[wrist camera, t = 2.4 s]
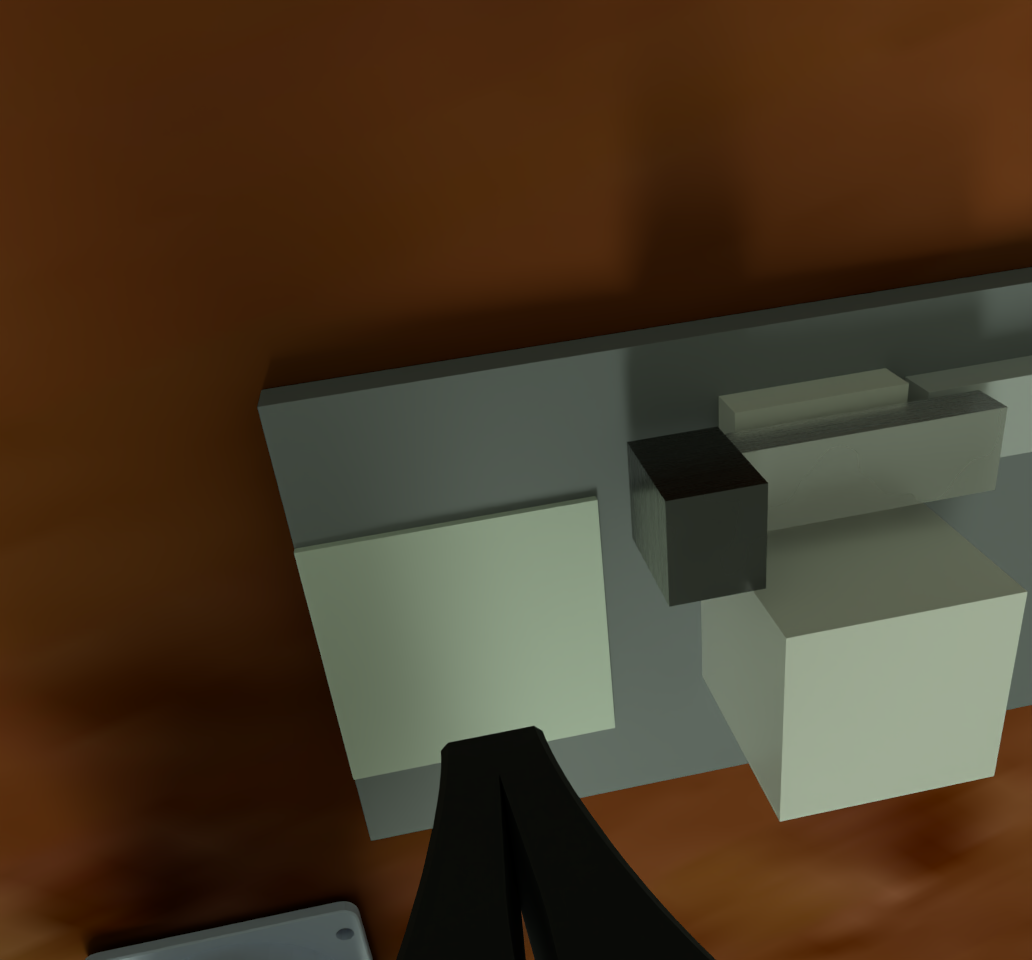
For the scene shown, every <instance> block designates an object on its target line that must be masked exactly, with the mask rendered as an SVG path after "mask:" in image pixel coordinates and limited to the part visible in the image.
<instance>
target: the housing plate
mask: <svg viewBox="0 0 1032 960" xmlns="http://www.w3.org/2000/svg"><path fill="white" fill-rule="evenodd" d="M883 368H886V369H888V370H889V371H891V372H892V373H894V374H895V375H897V376H898V377H900V378H901V379H903V380H905V381H906V382H908V383H909V389H908V399H907V402H912V401H918V400H924V399H930V398H935V397H941V396H947V395H953V394H959V393H965V392H970V391H976V390H980V391H982V392H983V393H985V394H987V395H988V396H990V397H992V398H993V399H995V400H997V401H998V402H1000V403H1002V404H1004V405H1005V406H1007V407H1008V409H1007V415H1006V422H1005V428H1004V435H1003V441H1002V448H1001V454H1000V461H999V468H998V474H997V481H996V487H995V490H992V491H986V492H981V493H975V494H970V495H964V496H959V497H953V498H948V499H942V500H937V501H931V502H926V503H924V504H925V505H926V506H928V507H929V508H930V509H931V510H932V511H933V512H935V513H936V514H937V515H938V516H939V517H940V518H942V519H943V520H944V521H945V522H946V523H948V524H949V525H950V526H951V527H952V528H953V529H955V530H956V531H957V532H958V533H959V534H960V535H962V536H963V537H964V538H965V539H966V540H968V541H969V542H970V543H971V544H972V545H973V546H975V547H976V548H977V549H978V550H979V551H980V552H982V553H983V554H984V555H985V556H986V557H988V558H989V559H990V560H991V561H992V562H993V563H995V564H996V565H997V566H998V567H999V568H1000V569H1002V570H1003V571H1004V572H1005V573H1006V574H1008V575H1009V576H1010V577H1011V578H1012V579H1013V580H1015V581H1016V582H1017V583H1018V584H1019V585H1020V586H1022V587H1023V588H1024V589H1025V590H1026V591H1028V592H1027V598H1026V603H1025V609H1024V614H1023V620H1022V625H1021V631H1020V636H1019V642H1018V647H1017V652H1016V658H1015V663H1014V669H1013V674H1012V680H1011V685H1010V691H1009V696H1008V702H1007V707H1006V710H1009V709H1014V708H1018V707H1023V706H1028V705H1032V267H1029V268H1023V269H1016V270H1010V271H1004V272H998V273H991V274H985V275H979V276H973V277H966V278H960V279H954V280H947V281H941V282H935V283H929V284H922V285H916V286H910V287H904V288H897V289H891V290H885V291H878V292H872V293H866V294H860V295H853V296H847V297H841V298H835V299H828V300H822V301H816V302H810V303H803V304H797V305H791V306H784V307H778V308H772V309H766V310H759V311H753V312H747V313H741V314H734V315H728V316H722V317H715V318H709V319H703V320H697V321H690V322H684V323H678V324H672V325H665V326H659V327H653V328H646V329H640V330H634V331H628V332H621V333H615V334H609V335H603V336H596V337H590V338H584V339H578V340H571V341H565V342H559V343H552V344H546V345H540V346H534V347H527V348H521V349H515V350H509V351H502V352H496V353H490V354H483V355H477V356H471V357H465V358H458V359H452V360H446V361H440V362H433V363H427V364H421V365H414V366H408V367H402V368H396V369H389V370H383V371H377V372H371V373H364V374H358V375H352V376H346V377H339V378H333V379H327V380H320V381H314V382H308V383H302V384H295V385H289V386H283V387H277V388H270V389H264V390H261V394H260V398H259V402H258V406H257V408H258V412H259V415H260V419H261V423H262V427H263V431H264V434H265V438H266V442H267V446H268V450H269V454H270V457H271V461H272V465H273V469H274V473H275V476H276V480H277V484H278V488H279V492H280V496H281V499H282V503H283V507H284V511H285V515H286V518H287V522H288V526H289V530H290V534H291V538H292V541H293V545H294V555H295V559H296V563H297V567H298V571H299V574H300V578H301V582H302V586H303V590H304V593H305V597H306V601H307V605H308V609H309V612H310V616H311V620H312V624H313V628H314V631H315V635H316V639H317V643H318V647H319V650H320V654H321V658H322V662H323V666H324V669H325V673H326V677H327V681H328V685H329V688H330V692H331V696H332V700H333V704H334V707H335V711H336V715H337V719H338V723H339V727H340V730H341V734H342V738H343V742H344V746H345V749H346V753H347V757H348V761H349V765H350V768H351V772H352V776H353V780H355V782H356V786H357V789H358V793H359V797H360V801H361V805H362V809H363V812H364V816H365V820H366V824H367V828H368V831H369V835H370V839H371V841H373V840H378V839H383V838H387V837H392V836H397V835H402V834H407V833H412V832H417V831H421V830H426V829H431V828H433V824H434V818H435V812H436V806H437V800H438V793H439V785H440V773H441V750H442V749H443V748H444V746H445V745H446V744H447V743H449V742H454V741H459V740H464V739H469V738H474V737H479V736H484V735H489V734H494V733H499V732H505V731H510V730H515V729H520V728H525V727H530V726H535V727H537V728H539V729H540V730H542V731H543V733H544V736H545V738H546V740H547V743H548V745H549V747H550V749H551V751H552V753H553V755H554V756H555V758H556V760H557V762H558V764H559V766H560V767H561V769H562V771H563V772H564V774H565V776H566V777H567V779H568V781H569V782H570V784H571V785H572V787H573V789H574V790H575V792H576V793H577V795H578V796H579V798H582V797H586V796H591V795H596V794H601V793H606V792H611V791H616V790H620V789H625V788H630V787H635V786H640V785H645V784H650V783H654V782H659V781H664V780H669V779H674V778H679V777H684V776H688V775H693V774H698V773H703V772H708V771H713V770H718V769H722V768H727V767H732V766H737V765H742V764H747V763H748V761H747V759H746V757H745V755H744V753H743V752H742V750H741V748H740V746H739V744H738V742H737V740H736V738H735V736H734V735H733V733H732V731H731V729H730V727H729V725H728V723H727V721H726V720H725V718H724V716H723V714H722V712H721V710H720V708H719V706H718V705H717V703H716V701H715V699H714V697H713V695H712V693H711V691H710V689H709V688H708V686H707V684H706V682H705V680H704V678H703V676H702V628H701V601H697V602H692V603H686V604H681V605H676V606H670V607H669V605H668V603H667V602H666V600H665V598H664V596H663V594H662V592H661V590H660V589H659V587H658V585H657V583H656V581H655V579H654V577H653V576H652V574H651V572H650V570H649V568H648V566H647V564H646V563H645V561H644V559H643V557H642V555H641V553H640V551H639V550H638V548H637V546H636V544H635V542H634V540H633V538H632V523H631V506H630V489H629V472H628V455H627V442H629V441H635V440H641V439H647V438H653V437H659V436H664V435H670V434H676V433H682V432H688V431H694V430H700V429H705V428H711V427H717V426H718V427H719V396H722V395H728V394H734V393H740V392H746V391H752V390H758V389H764V388H770V387H776V386H782V385H788V384H794V383H800V382H806V381H812V380H818V379H824V378H830V377H836V376H842V375H848V374H854V373H860V372H865V371H871V370H877V369H883Z"/></svg>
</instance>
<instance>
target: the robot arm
mask: <svg viewBox="0 0 1032 960" xmlns="http://www.w3.org/2000/svg"><path fill="white" fill-rule="evenodd" d="M521 911H522V915H523V919H524V922H525V926H526V929H527V933H528V936H529V940H530V943H531V947H532V951H533V954H534V958H535V960H715V959H714V958H713V957H712V956H711V955H710V954H709V953H708V952H707V951H706V950H705V949H704V948H703V947H702V946H701V945H700V944H699V943H698V942H697V941H696V940H695V939H694V938H693V937H692V936H691V935H690V934H689V933H688V932H687V930H686V929H685V928H684V927H683V926H682V925H681V924H680V923H679V922H678V921H677V920H676V919H675V918H674V917H673V916H672V915H671V914H670V912H669V911H668V910H667V909H666V908H665V907H664V906H663V905H662V904H661V902H660V901H659V900H658V899H657V898H656V897H655V896H654V894H653V893H652V892H651V891H650V890H649V889H648V888H647V886H646V885H645V884H644V883H643V882H642V880H641V879H640V878H639V877H638V875H637V874H636V873H635V872H634V871H633V869H632V868H631V867H630V866H629V865H628V863H627V862H626V861H625V860H624V858H623V857H622V856H621V855H620V853H619V852H618V851H617V849H616V848H615V847H614V846H613V844H612V843H611V842H610V840H609V839H608V837H607V836H606V835H605V833H604V832H603V831H602V829H601V828H600V826H599V825H598V824H597V822H596V821H595V820H594V818H593V817H592V815H591V814H590V813H589V811H588V810H587V808H586V807H585V805H584V804H583V802H582V801H581V799H580V798H579V796H578V795H577V793H576V792H575V790H574V789H573V787H572V785H571V784H570V782H569V781H568V779H567V777H566V776H565V774H564V772H563V771H562V769H561V767H560V766H559V764H558V762H557V760H556V758H555V756H554V755H553V753H552V751H551V749H550V747H549V745H548V743H547V740H546V738H545V736H544V733H543V731H542V730H540V729H539V728H537V727H535V726H530V727H525V728H520V729H515V730H510V731H505V732H499V733H494V734H489V735H484V736H479V737H474V738H469V739H464V740H459V741H454V742H449V743H447V744H446V745H445V746H444V748H443V749H442V750H441V773H440V785H439V793H438V800H437V806H436V812H435V818H434V824H433V829H432V833H431V838H430V842H429V847H428V851H427V855H426V860H425V864H424V869H423V873H422V877H421V881H420V884H419V888H418V891H417V895H416V898H415V901H414V905H413V908H412V912H411V915H410V918H409V922H408V925H407V928H406V932H405V935H404V938H403V941H402V944H401V947H400V950H399V953H398V956H397V959H396V960H526V958H525V948H524V937H523V926H522V916H521ZM343 928H345V929H343ZM85 960H373V959H372V955H371V951H370V948H369V944H368V941H367V937H366V934H365V930H364V927H363V923H362V920H361V916H360V913H359V909H358V908H357V906H356V905H354V904H353V903H351V902H347V901H340V902H334V903H330V904H325V905H320V906H315V907H311V908H306V909H301V910H297V911H292V912H287V913H282V914H278V915H273V916H268V917H263V918H259V919H254V920H249V921H245V922H240V923H235V924H230V925H226V926H221V927H216V928H211V929H207V930H202V931H197V932H192V933H188V934H183V935H178V936H174V937H169V938H164V939H159V940H155V941H150V942H145V943H140V944H136V945H131V946H126V947H122V948H117V949H112V950H107V951H103V952H98V953H95V954H92V955H90V956H88V957H87V958H86V959H85Z"/></svg>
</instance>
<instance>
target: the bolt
mask: <svg viewBox="0 0 1032 960" xmlns="http://www.w3.org/2000/svg"><path fill="white" fill-rule="evenodd" d="M1007 409H1008V407H1007V406H1005V405H1004V404H1002V403H1000V402H998V401H997V400H995V399H993V398H992V397H990V396H988V395H987V394H985V393H983V392H982V391H980V390H976V391H970V392H965V393H959V394H953V395H947V396H941V397H935V398H930V399H924V400H918V401H912V402H906V403H900V404H895V405H889V406H883V407H877V408H871V409H865V410H860V411H854V412H848V413H842V414H836V415H831V416H825V417H819V418H813V419H807V420H801V421H796V422H790V423H784V424H778V425H772V426H766V427H761V428H755V429H749V430H743V431H737V432H731V433H726V434H724V433H723V432H722V431H721V430H720V429H719V427H718V426H717V427H711V428H705V429H700V430H694V431H688V432H682V433H676V434H670V435H664V436H659V437H653V438H647V439H641V440H635V441H629V442H627V455H628V472H629V489H630V506H631V523H632V538H633V540H634V542H635V544H636V546H637V548H638V550H639V551H640V553H641V555H642V557H643V559H644V561H645V563H646V564H647V566H648V568H649V570H650V572H651V574H652V576H653V577H654V579H655V581H656V583H657V585H658V587H659V589H660V590H661V592H662V594H663V596H664V598H665V600H666V602H667V603H668V605H669V607H670V606H676V605H681V604H686V603H692V602H697V601H702V600H708V599H713V598H718V597H724V596H729V595H734V594H739V593H745V592H750V591H755V590H761V589H766V564H767V531H772V530H778V529H783V528H789V527H794V526H800V525H805V524H811V523H816V522H822V521H827V520H833V519H838V518H844V517H849V516H855V515H860V514H866V513H871V512H877V511H882V510H888V509H893V508H898V507H904V506H909V505H915V504H920V503H926V502H931V501H937V500H942V499H948V498H953V497H959V496H964V495H970V494H975V493H981V492H986V491H992V490H995V487H996V481H997V474H998V468H999V461H1000V454H1001V448H1002V441H1003V435H1004V428H1005V422H1006V415H1007Z"/></svg>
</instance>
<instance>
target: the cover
mask: <svg viewBox="0 0 1032 960" xmlns="http://www.w3.org/2000/svg"><path fill="white" fill-rule="evenodd" d="M908 389H909V383H908V382H906V381H905V380H903V379H901V378H900V377H898V376H897V375H895V374H894V373H892V372H891V371H889V370H888V369H886V368H883V369H877V370H871V371H865V372H860V373H854V374H848V375H842V376H836V377H830V378H824V379H818V380H812V381H806V382H800V383H794V384H788V385H782V386H776V387H770V388H764V389H758V390H752V391H746V392H740V393H734V394H728V395H722V396H719V429H720V430H721V431H722V432H723V433H724V434H726V433H731V432H737V431H743V430H749V429H755V428H761V427H766V426H772V425H778V424H784V423H790V422H796V421H801V420H807V419H813V418H819V417H825V416H831V415H836V414H842V413H848V412H854V411H860V410H865V409H871V408H877V407H883V406H889V405H895V404H900V403H906V402H907V399H908ZM1027 592H1028V591H1026V590H1025V589H1024V588H1023V587H1022V586H1020V585H1019V584H1018V583H1017V582H1016V581H1015V580H1013V579H1012V578H1011V577H1010V576H1009V575H1008V574H1006V573H1005V572H1004V571H1003V570H1002V569H1000V568H999V567H998V566H997V565H996V564H995V563H993V562H992V561H991V560H990V559H989V558H988V557H986V556H985V555H984V554H983V553H982V552H980V551H979V550H978V549H977V548H976V547H975V546H973V545H972V544H971V543H970V542H969V541H968V540H966V539H965V538H964V537H963V536H962V535H960V534H959V533H958V532H957V531H956V530H955V529H953V528H952V527H951V526H950V525H949V524H948V523H946V522H945V521H944V520H943V519H942V518H940V517H939V516H938V515H937V514H936V513H935V512H933V511H932V510H931V509H930V508H929V507H928V506H926V505H925V504H924V503H920V504H915V505H909V506H904V507H898V508H893V509H888V510H882V511H877V512H871V513H866V514H860V515H855V516H849V517H844V518H838V519H833V520H827V521H822V522H816V523H811V524H805V525H800V526H794V527H789V528H783V529H778V530H772V531H767V564H766V589H761V590H755V591H750V592H745V593H739V594H734V595H729V596H724V597H718V598H713V599H708V600H702V601H701V628H702V676H703V678H704V680H705V682H706V684H707V686H708V688H709V689H710V691H711V693H712V695H713V697H714V699H715V701H716V703H717V705H718V706H719V708H720V710H721V712H722V714H723V716H724V718H725V720H726V721H727V723H728V725H729V727H730V729H731V731H732V733H733V735H734V736H735V738H736V740H737V742H738V744H739V746H740V748H741V750H742V752H743V753H744V755H745V757H746V759H747V761H748V763H749V765H750V767H751V768H752V770H753V772H754V774H755V776H756V778H757V780H758V782H759V783H760V785H761V787H762V789H763V791H764V793H765V795H766V797H767V798H768V800H769V802H770V804H771V806H772V808H773V810H774V812H775V814H776V815H777V817H778V819H779V821H785V820H789V819H794V818H799V817H803V816H808V815H813V814H818V813H822V812H827V811H832V810H836V809H841V808H846V807H850V806H855V805H860V804H865V803H869V802H874V801H879V800H883V799H888V798H893V797H897V796H902V795H907V794H912V793H916V792H921V791H926V790H930V789H935V788H940V787H944V786H949V785H954V784H959V783H963V782H968V781H973V780H977V779H982V778H987V777H991V776H994V773H995V767H996V762H997V756H998V751H999V746H1000V740H1001V735H1002V729H1003V724H1004V718H1005V713H1006V707H1007V702H1008V696H1009V691H1010V685H1011V680H1012V674H1013V669H1014V663H1015V658H1016V652H1017V647H1018V642H1019V636H1020V631H1021V625H1022V620H1023V614H1024V609H1025V603H1026V598H1027Z"/></svg>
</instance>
